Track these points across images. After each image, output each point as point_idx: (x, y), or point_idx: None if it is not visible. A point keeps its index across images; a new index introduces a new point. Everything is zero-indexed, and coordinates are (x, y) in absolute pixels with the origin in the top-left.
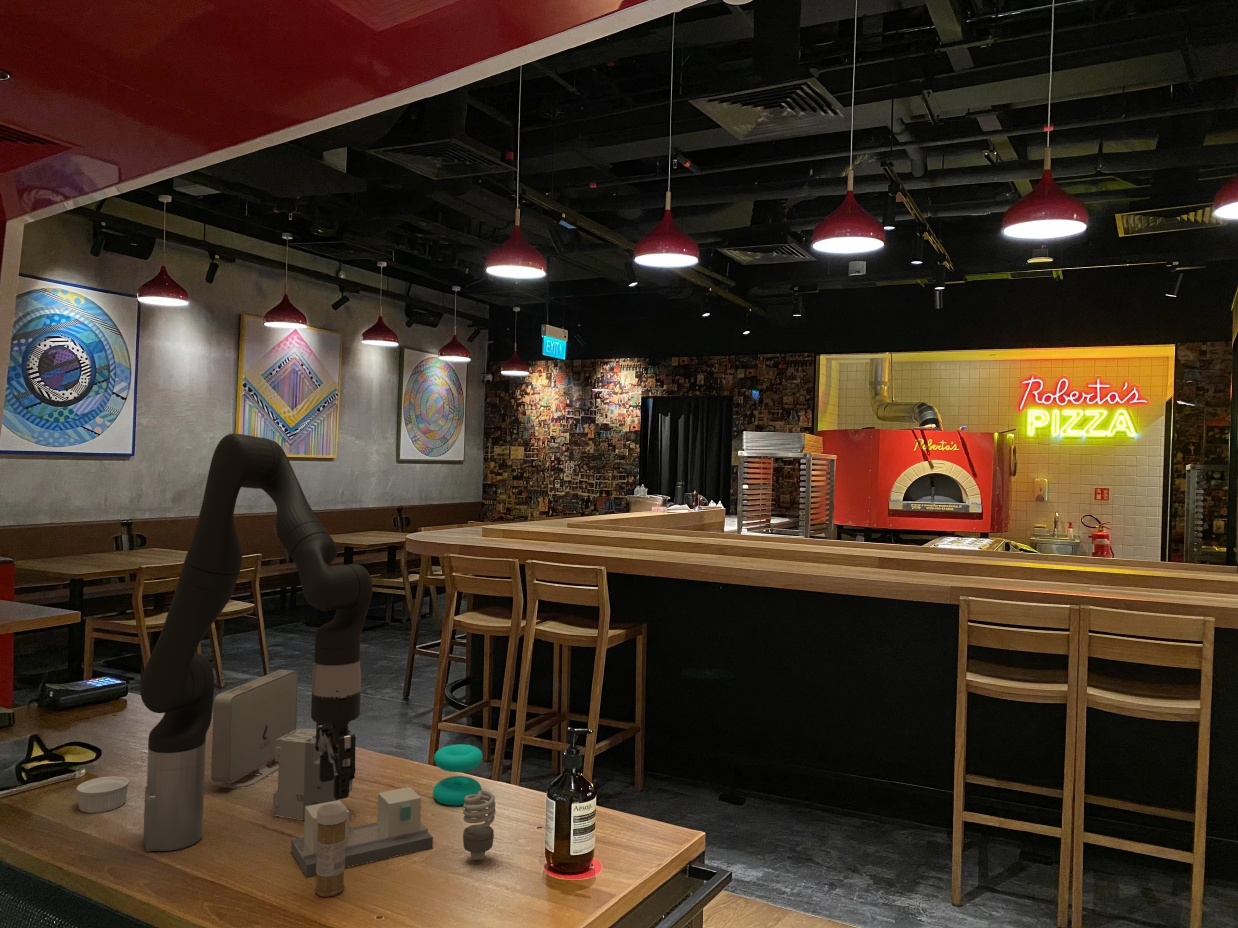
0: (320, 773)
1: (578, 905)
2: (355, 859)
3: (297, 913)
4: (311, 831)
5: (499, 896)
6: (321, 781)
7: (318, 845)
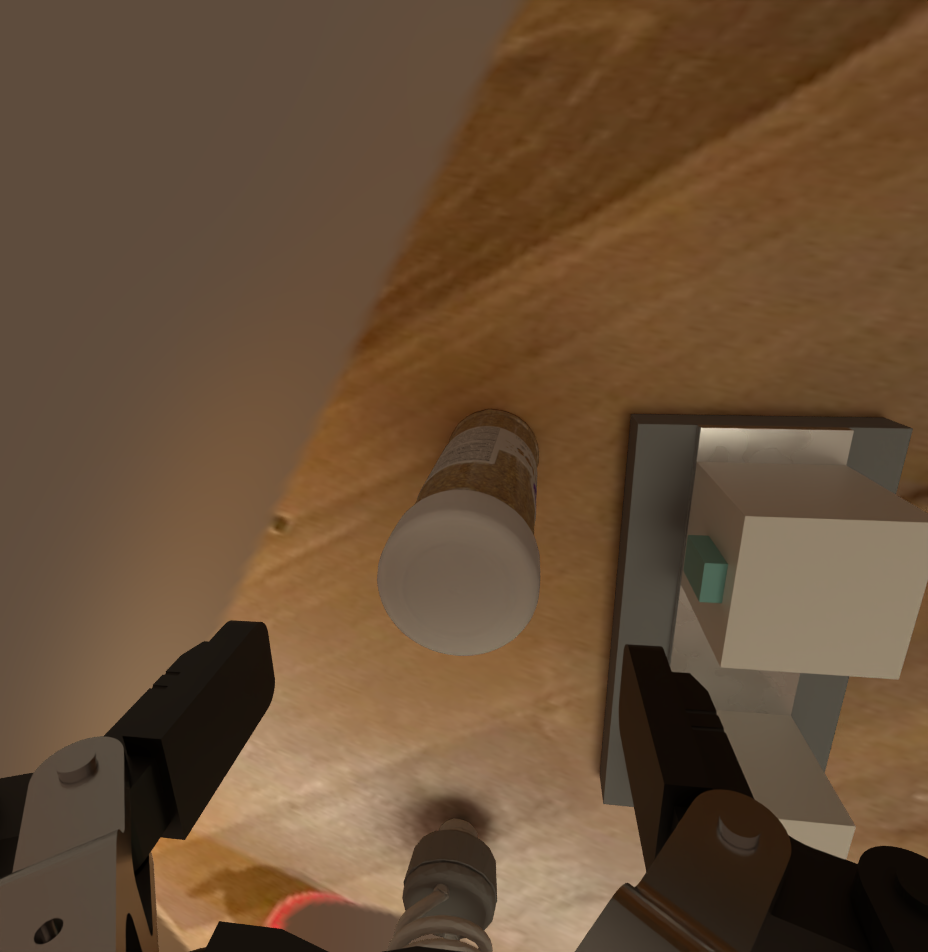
0: (637, 681)
1: (166, 865)
2: (620, 577)
3: (397, 327)
4: (752, 489)
5: (262, 776)
6: (625, 645)
7: (462, 457)
